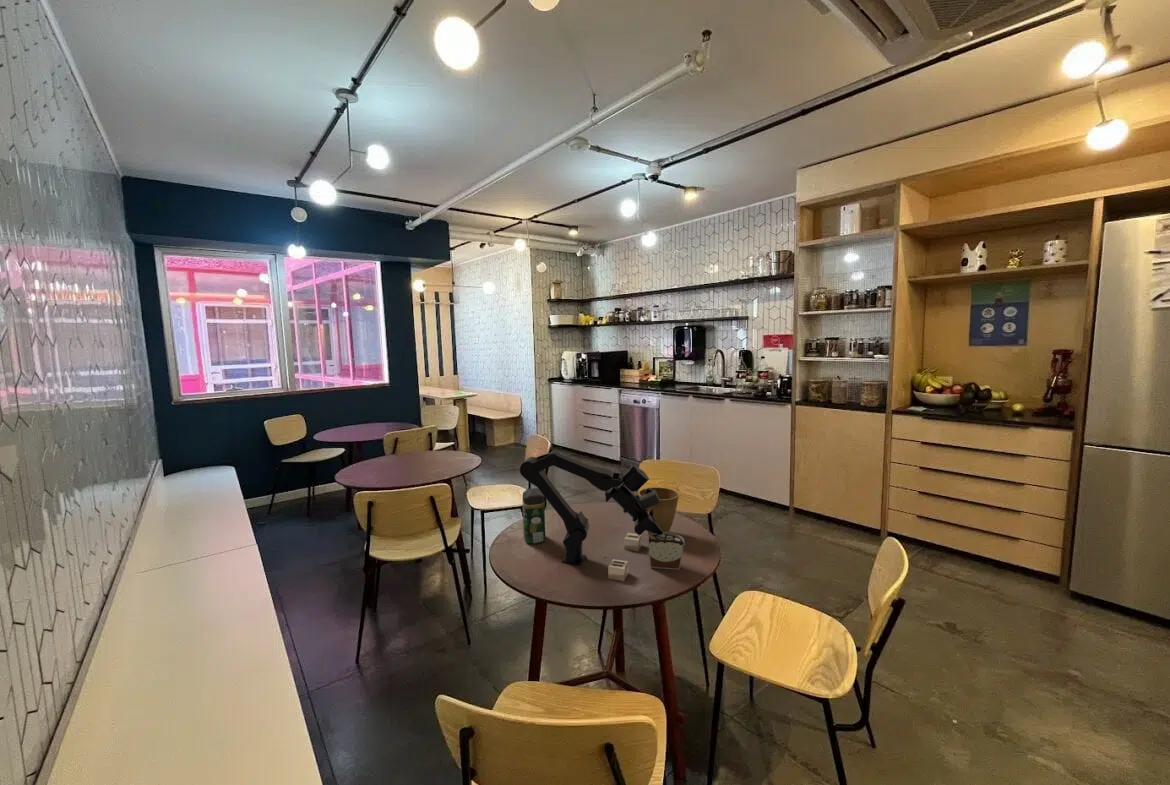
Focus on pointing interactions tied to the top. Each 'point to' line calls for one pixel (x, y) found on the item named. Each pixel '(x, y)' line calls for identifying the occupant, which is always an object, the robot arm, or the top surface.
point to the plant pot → (663, 507)
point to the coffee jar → (533, 516)
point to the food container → (665, 550)
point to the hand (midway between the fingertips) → (662, 533)
